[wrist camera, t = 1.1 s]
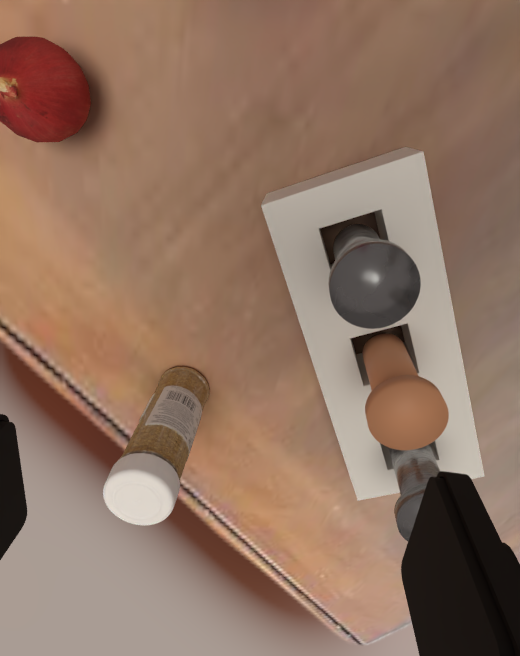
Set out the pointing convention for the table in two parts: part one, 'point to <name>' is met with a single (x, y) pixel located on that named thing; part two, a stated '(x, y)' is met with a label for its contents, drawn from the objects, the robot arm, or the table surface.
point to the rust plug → (400, 397)
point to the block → (336, 333)
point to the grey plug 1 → (371, 279)
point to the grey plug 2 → (411, 483)
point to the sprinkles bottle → (158, 450)
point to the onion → (41, 90)
